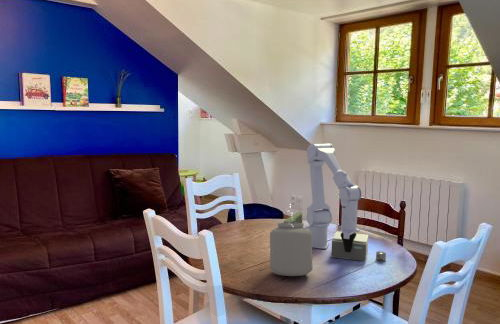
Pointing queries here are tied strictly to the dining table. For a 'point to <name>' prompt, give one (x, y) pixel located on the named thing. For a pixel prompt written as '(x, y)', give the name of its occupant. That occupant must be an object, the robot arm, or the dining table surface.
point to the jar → (291, 249)
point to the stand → (380, 256)
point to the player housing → (358, 239)
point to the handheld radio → (294, 218)
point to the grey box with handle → (356, 252)
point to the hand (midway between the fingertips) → (347, 251)
